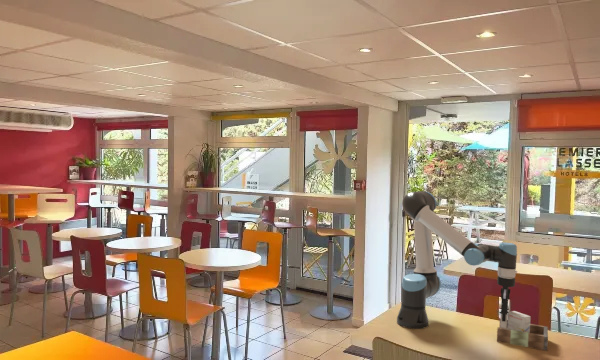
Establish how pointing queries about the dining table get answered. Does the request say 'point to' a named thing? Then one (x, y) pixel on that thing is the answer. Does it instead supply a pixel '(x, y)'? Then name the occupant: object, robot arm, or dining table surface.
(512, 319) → the ink box
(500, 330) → the open-top container
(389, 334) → the dining table surface
